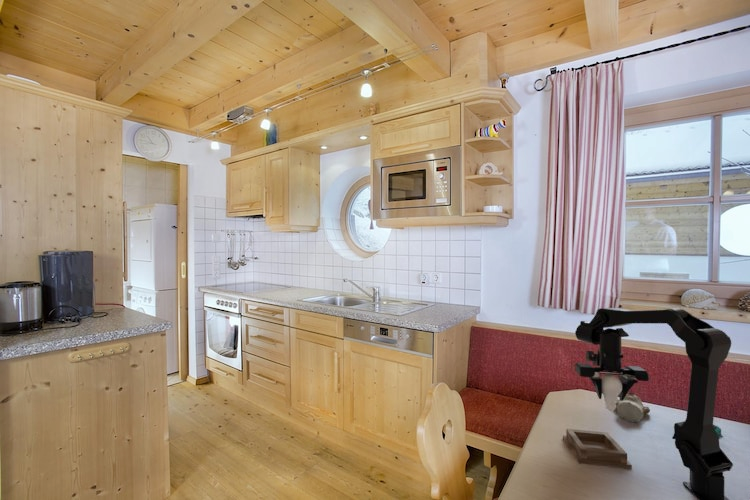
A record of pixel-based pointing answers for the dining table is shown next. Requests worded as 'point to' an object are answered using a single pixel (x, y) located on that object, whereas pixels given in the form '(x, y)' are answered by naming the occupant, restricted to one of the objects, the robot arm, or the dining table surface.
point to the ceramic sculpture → (631, 408)
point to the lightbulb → (611, 390)
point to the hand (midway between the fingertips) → (610, 399)
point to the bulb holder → (596, 448)
